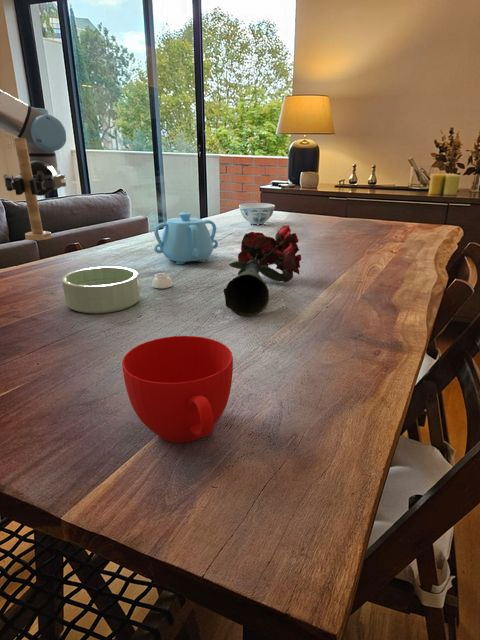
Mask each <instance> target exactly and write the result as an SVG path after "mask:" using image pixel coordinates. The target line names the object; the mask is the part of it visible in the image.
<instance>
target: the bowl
mask: <svg viewBox="0 0 480 640" xmlns="http://www.w3.org/2000/svg"><path fill="white" fill-rule="evenodd" d="M61 283H62V290H63V295H64V300H65V306H66V307H68V308H69V309H70V310H73V311H76V312H79V313H83V314H107V313H114V312H119V311H123V310H126V309H128V308H131V307H133V306H135V304H137V303H138V302H139V301H140V299H141V296H142V295H141V289H140V288H141V287H140V277H139V273H138V271H136V270H134V269H132V268H128V267H123V266H96V267H89V268H81V269H77V270H74V271H71V272H69V273H67V274H64V276H62V277H61Z"/></svg>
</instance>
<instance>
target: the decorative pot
mask: <svg viewBox="0 0 480 640" xmlns="http://www.w3.org/2000/svg"><path fill="white" fill-rule="evenodd" d="M191 214H192V213H191V212H180V213H178V215H179V217H173V218H172V217H171V218H168V219H167V220H166V222H159V223H157V224H156V225H155V226H154V229H153V233H154V237H155V239H156V241H157V244H155V245H154V247H153V251H154V252H155V253H156V254H163V256H164V257H165V258H166V259H168V260H170V261H173V262H175V264H176V265H184V264H185V263H186V262H195V261H196V262H197V263H204V262H206V260H207V259H209V258H210V257H211V255H212V253H213V252H214V249H217V248H218V246H219V242H218V241H217V240H216V239H215V237H216V233H217V225H216V223H215V222H214V221H213V220H209V219H204V220H203V219H201V218H199V217H191ZM207 224H210V225H211V227H212V228H211V229H212V230H211V233H210V231H209V229H208V227H207ZM162 227H163V230H162V233H161V237H160V233H159V230H160V228H162ZM213 243H214V244H213ZM158 247H159V249H158Z"/></svg>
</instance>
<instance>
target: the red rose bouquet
mask: <svg viewBox="0 0 480 640" xmlns="http://www.w3.org/2000/svg"><path fill="white" fill-rule="evenodd" d="M291 232H292V230H291V228H290V226H289V224H285V225H284V224H283V225H282V227H280V228H279V229H278V228H277V232H276V234H275V237H273V236H268V235H265V234H264V233H263V232H259V231H255V232H254V231H250V232H248V233H245V234H244V235H243V238H242V240H241V244H240V252H239V253H238V254H237V261H233V262H231V263H229V266H230V267H231V268H234V269H237V270H239V271H238V272H237V275H236V276H235V277H233V278H232V279H231V280H230V281H229V282H228V283H227V285H226V287H225V288H223V295H224V300H225V307H226V308H228V309H229V310H231V311H232V312H233V313H234V314H235V315H237V316H241V317H244V318H245V317H246V318H251V317H254V316H255V317H256V316H257V315H259V314H260V313H262V312H264V311H265V310H266V308H267V306H268V305H269V300H270V290H269V287H268V285H267V284H266V282H265V281H264V280H263V278H262V276H260V274H261V275H263V276H264V277H266V278H268V279H270V280H272V281H275V282H280V281H281V282H283V283H288V282H290V281H291V280H292V279H293V278H294V273H296V274H297V275H300V268H301V261H302V254H301V253H300V254H297V253H298V252H299V251H300V249H299V246H298V243H299V238H298V235H297V233H296V232H295V233H294V232H293V233H291ZM296 254H297V255H296ZM271 265H276V267H275V269H276V270H275V269H274V268H272V267H270V266H271ZM278 270H279V271H281V273H280V272H278Z"/></svg>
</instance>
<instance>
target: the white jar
mask: <svg viewBox="0 0 480 640" xmlns="http://www.w3.org/2000/svg"><path fill="white" fill-rule="evenodd" d="M173 285H174V282H173V280H172V279H171V277H170V276H169V274H168V273H166V272H165V273H164V272H161V273H156V274H155V275H154V278H153V280H152V282H151V287H153V288H156V289H160V290H161V289H169V288H170V287H172V286H173Z"/></svg>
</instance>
